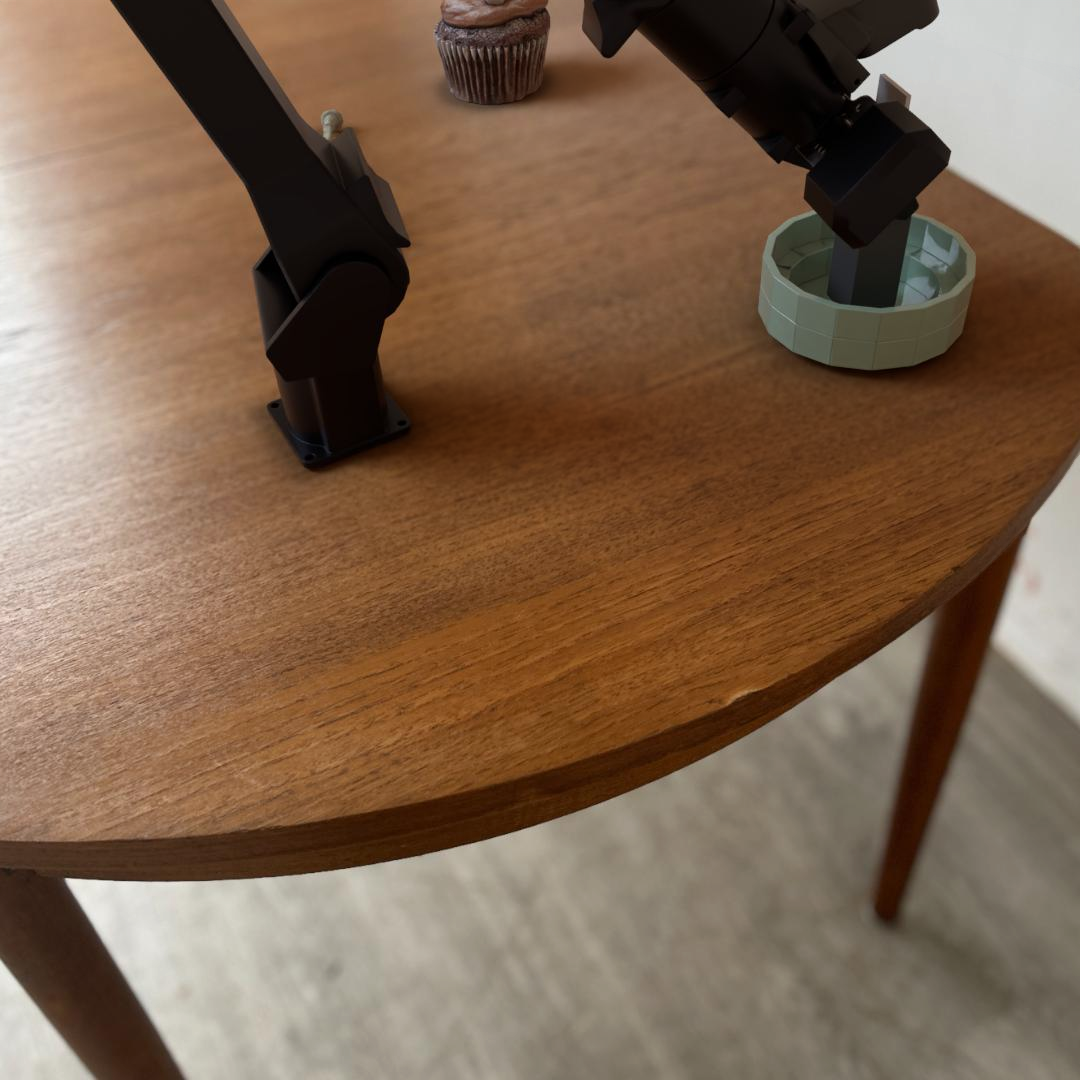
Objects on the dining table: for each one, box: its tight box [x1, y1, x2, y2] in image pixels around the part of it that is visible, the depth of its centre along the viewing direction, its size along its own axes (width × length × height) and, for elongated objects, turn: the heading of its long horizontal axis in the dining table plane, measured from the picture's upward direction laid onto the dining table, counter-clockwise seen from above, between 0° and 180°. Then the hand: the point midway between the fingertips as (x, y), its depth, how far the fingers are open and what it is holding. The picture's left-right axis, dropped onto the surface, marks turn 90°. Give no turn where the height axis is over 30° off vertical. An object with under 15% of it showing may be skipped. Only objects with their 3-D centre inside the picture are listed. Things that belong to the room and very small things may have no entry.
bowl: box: [757, 209, 977, 371], centre depth 71 cm, size 12×12×4 cm
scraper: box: [827, 73, 912, 308], centre depth 67 cm, size 3×3×13 cm
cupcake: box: [432, 0, 551, 105], centre depth 97 cm, size 10×10×10 cm
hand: (898, 199), depth 68 cm, fingers closed on scraper, 3 cm apart
